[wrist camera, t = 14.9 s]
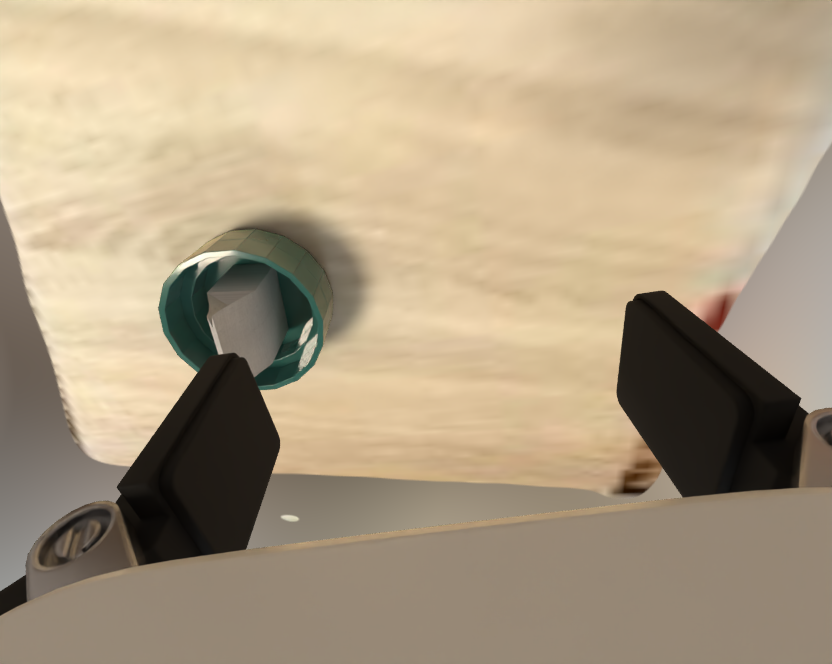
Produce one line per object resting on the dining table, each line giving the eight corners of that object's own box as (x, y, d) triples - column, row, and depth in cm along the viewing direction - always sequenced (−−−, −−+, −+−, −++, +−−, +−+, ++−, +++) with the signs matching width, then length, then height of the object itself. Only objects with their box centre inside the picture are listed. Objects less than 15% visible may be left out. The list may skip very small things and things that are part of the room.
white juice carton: (274, 263, 38) (236, 315, 29) (288, 329, 41) (258, 393, 33) (233, 264, 38) (183, 317, 29) (250, 330, 41) (209, 395, 33)
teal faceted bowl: (160, 264, 38) (121, 292, 33) (285, 202, 36) (265, 221, 31) (246, 371, 44) (225, 409, 39) (358, 324, 42) (352, 358, 37)
